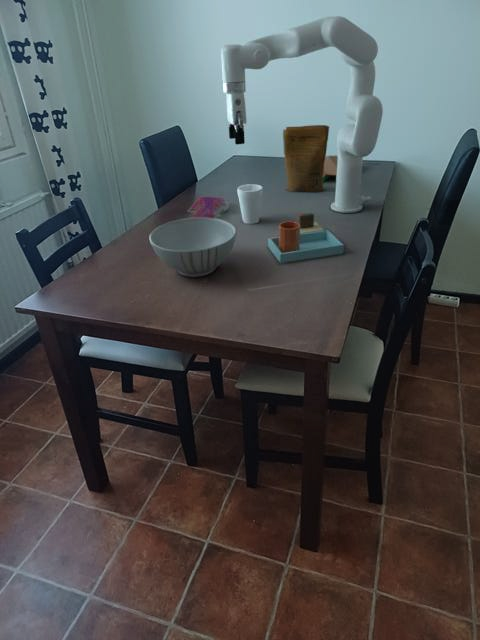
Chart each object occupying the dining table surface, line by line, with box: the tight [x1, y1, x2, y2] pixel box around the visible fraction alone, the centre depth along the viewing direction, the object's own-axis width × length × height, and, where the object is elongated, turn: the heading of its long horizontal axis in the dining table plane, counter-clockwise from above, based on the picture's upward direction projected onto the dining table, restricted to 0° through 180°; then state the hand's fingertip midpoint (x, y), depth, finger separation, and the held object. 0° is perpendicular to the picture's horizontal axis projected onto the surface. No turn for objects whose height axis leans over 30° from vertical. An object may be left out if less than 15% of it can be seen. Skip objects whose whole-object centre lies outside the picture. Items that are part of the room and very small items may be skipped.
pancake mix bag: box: [282, 124, 330, 193], centre depth 205 cm, size 7×19×28 cm, turn 75°
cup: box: [278, 220, 300, 253], centre depth 156 cm, size 7×7×10 cm
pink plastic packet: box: [187, 196, 232, 219], centre depth 191 cm, size 30×15×5 cm, turn 167°
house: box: [322, 155, 338, 182], centre depth 231 cm, size 23×33×8 cm
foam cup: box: [236, 183, 264, 225], centre depth 182 cm, size 10×9×13 cm
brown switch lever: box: [298, 213, 315, 229], centre depth 168 cm, size 5×2×5 cm, turn 103°
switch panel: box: [300, 221, 324, 234], centre depth 170 cm, size 12×9×3 cm
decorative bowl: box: [148, 217, 238, 278], centre depth 149 cm, size 27×27×12 cm
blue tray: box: [267, 229, 345, 264], centre depth 159 cm, size 22×14×3 cm, turn 103°
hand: (236, 141), depth 167 cm, fingers open, 9 cm apart
